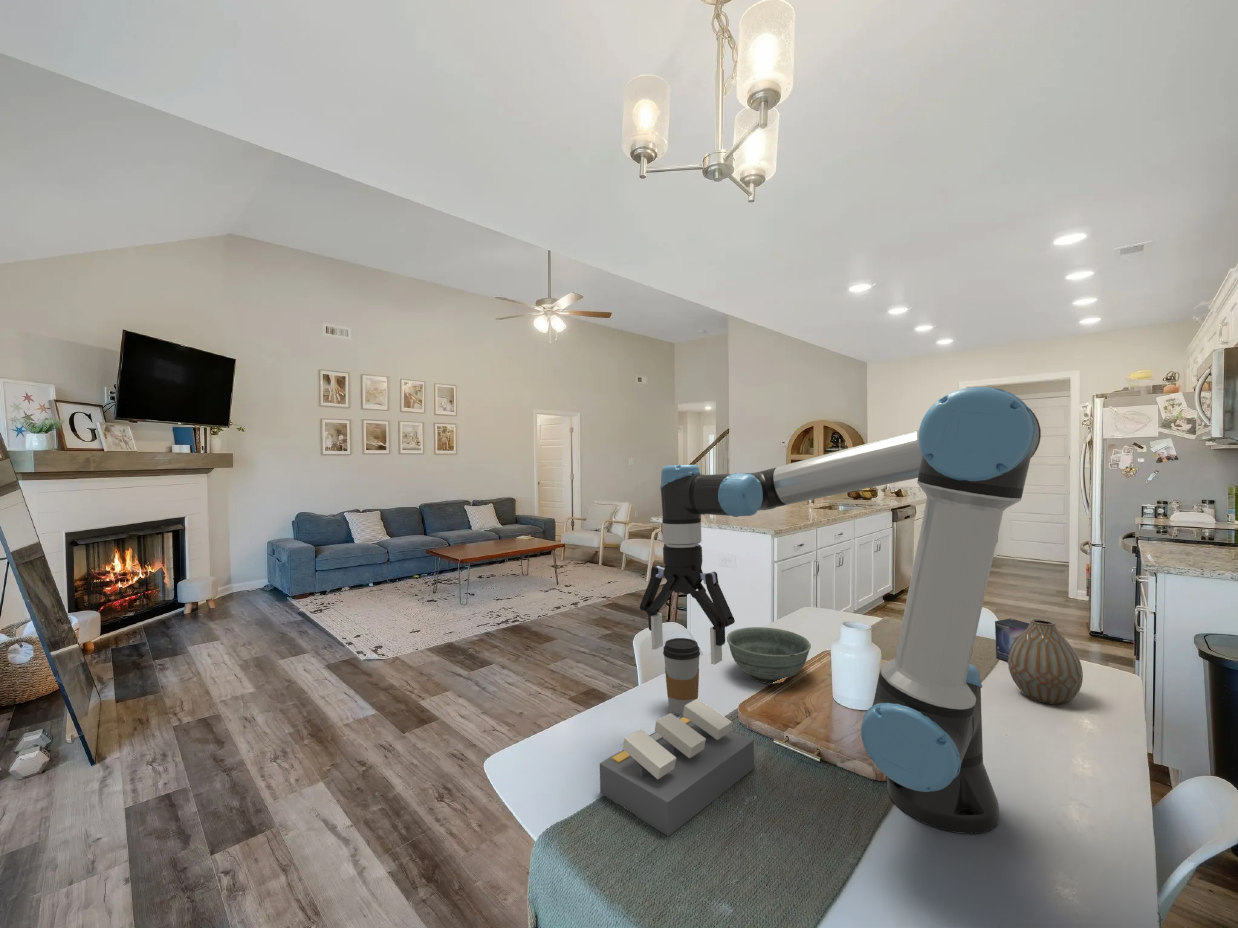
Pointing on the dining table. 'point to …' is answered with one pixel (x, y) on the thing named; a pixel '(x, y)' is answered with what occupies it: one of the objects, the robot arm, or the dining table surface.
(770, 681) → the bowl
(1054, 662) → the vase
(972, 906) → the dining table surface
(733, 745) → the switch unit
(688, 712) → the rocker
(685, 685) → the coffee cup
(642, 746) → the rocker
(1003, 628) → the small box
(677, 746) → the rocker
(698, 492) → the robot arm
